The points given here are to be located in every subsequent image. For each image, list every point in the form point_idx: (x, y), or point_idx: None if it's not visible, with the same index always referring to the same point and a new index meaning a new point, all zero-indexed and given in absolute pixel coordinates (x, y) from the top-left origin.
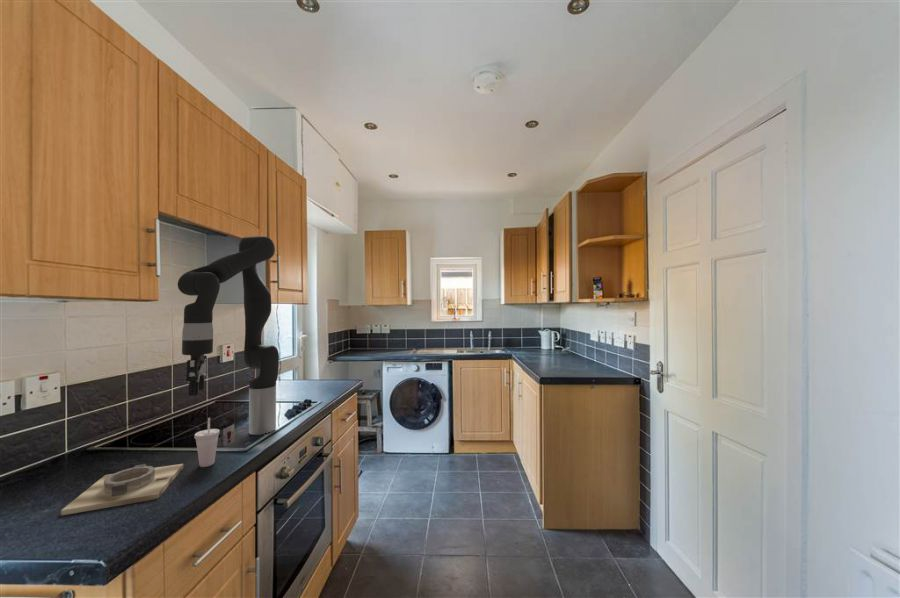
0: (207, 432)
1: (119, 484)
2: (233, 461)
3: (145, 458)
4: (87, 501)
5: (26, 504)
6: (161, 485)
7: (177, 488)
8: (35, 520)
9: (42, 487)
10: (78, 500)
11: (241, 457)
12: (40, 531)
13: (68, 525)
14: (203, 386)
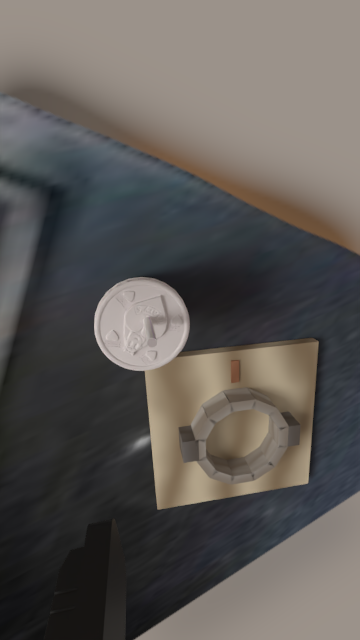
0: (153, 324)
1: (295, 434)
2: (141, 216)
3: (35, 487)
4: (290, 462)
5: (228, 558)
6: (274, 354)
7: (275, 316)
8: (301, 502)
9: (156, 586)
10: (277, 480)
11: (112, 196)
12: (346, 470)
13: (346, 441)
14: (112, 545)
